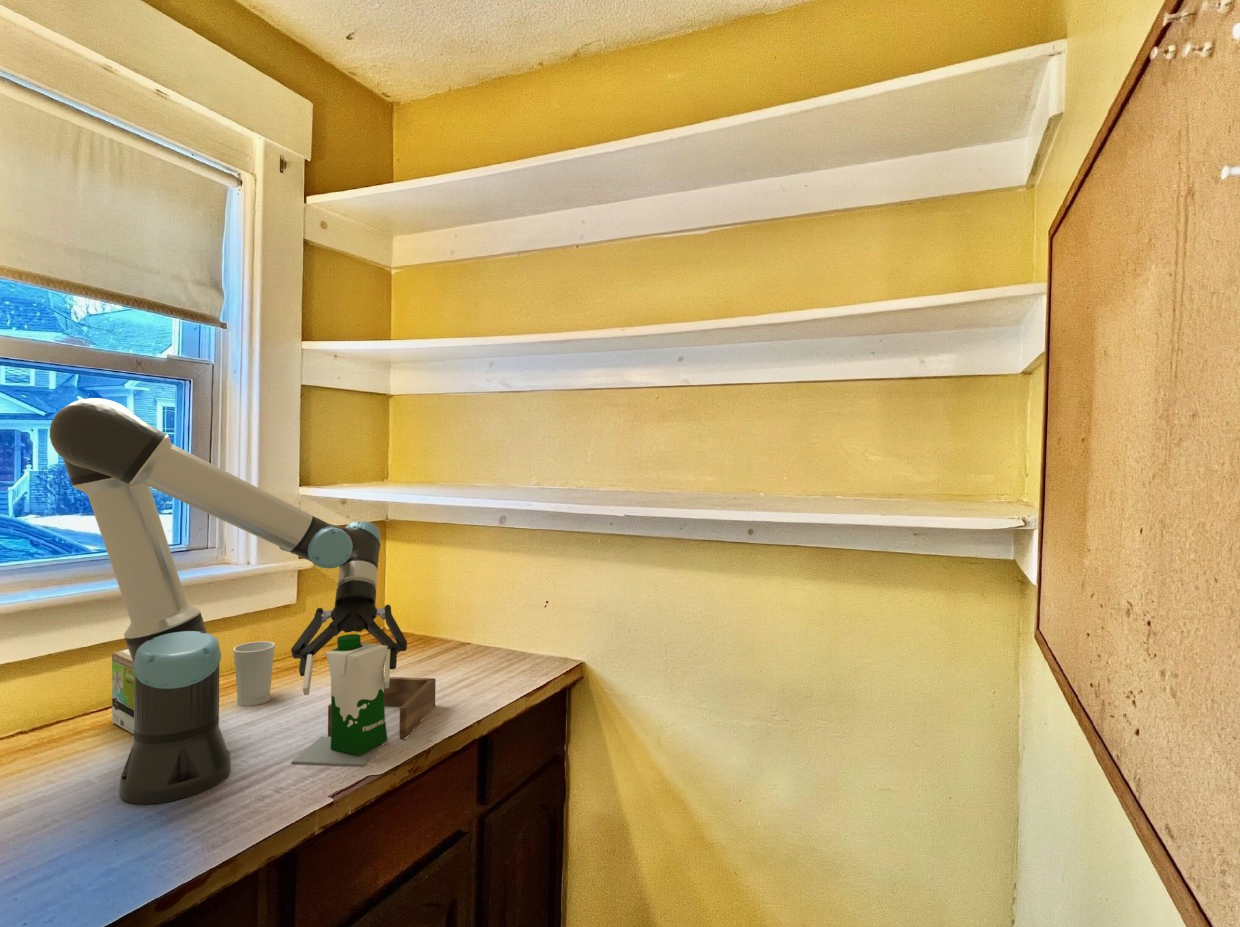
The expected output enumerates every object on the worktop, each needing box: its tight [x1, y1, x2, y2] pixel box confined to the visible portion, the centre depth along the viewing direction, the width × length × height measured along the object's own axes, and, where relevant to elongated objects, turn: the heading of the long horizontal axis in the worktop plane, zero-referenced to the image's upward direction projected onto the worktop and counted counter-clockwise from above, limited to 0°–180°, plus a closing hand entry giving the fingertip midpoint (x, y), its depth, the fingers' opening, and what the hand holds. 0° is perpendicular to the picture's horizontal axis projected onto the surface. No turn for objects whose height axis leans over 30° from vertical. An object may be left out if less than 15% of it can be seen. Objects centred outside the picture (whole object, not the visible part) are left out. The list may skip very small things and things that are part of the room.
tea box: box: [111, 648, 135, 735], centre depth 126 cm, size 15×10×15 cm
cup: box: [232, 640, 276, 707], centre depth 139 cm, size 8×8×12 cm
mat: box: [290, 736, 387, 767], centre depth 116 cm, size 13×10×1 cm
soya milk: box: [325, 633, 388, 755], centre depth 117 cm, size 9×9×20 cm
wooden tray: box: [327, 676, 436, 740], centre depth 130 cm, size 15×17×6 cm
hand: (346, 688), depth 114 cm, fingers open, 13 cm apart
